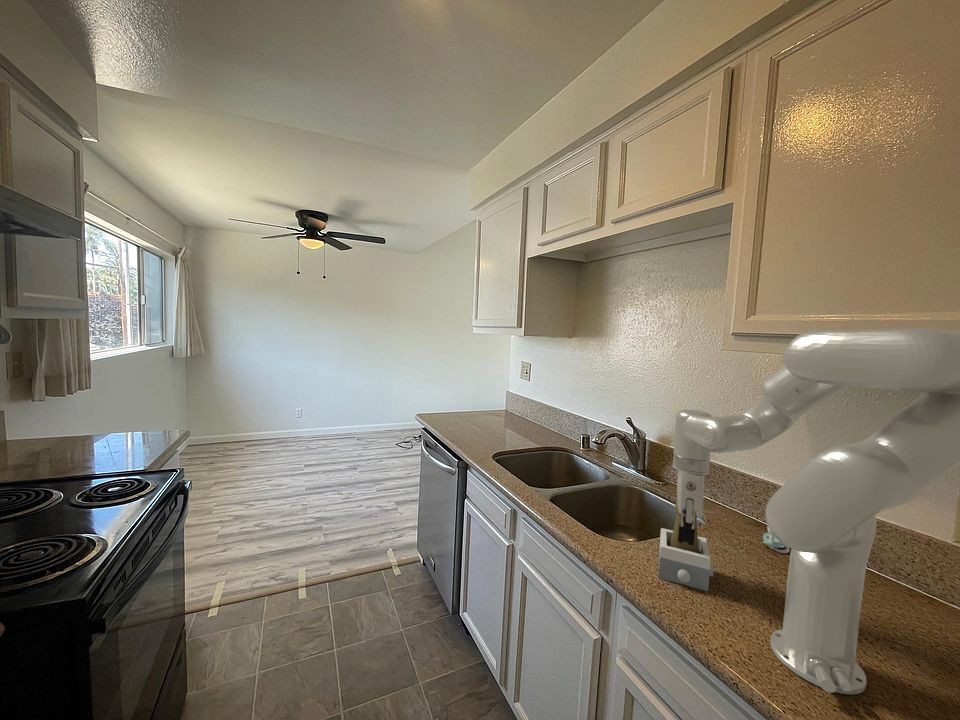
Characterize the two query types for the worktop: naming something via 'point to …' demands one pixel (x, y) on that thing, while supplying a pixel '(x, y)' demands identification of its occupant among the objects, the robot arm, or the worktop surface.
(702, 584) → the grey plastic box
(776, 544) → the pacifier
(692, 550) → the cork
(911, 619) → the worktop surface
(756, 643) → the worktop surface
